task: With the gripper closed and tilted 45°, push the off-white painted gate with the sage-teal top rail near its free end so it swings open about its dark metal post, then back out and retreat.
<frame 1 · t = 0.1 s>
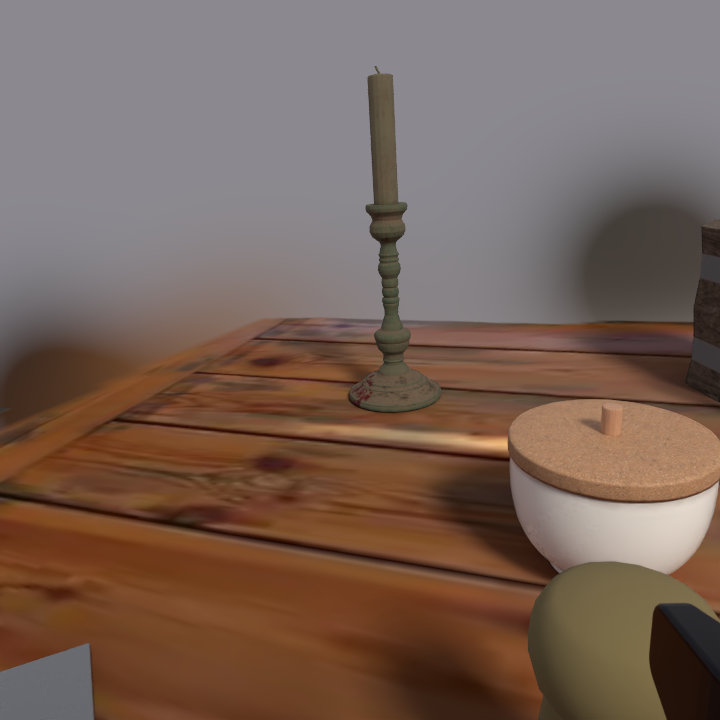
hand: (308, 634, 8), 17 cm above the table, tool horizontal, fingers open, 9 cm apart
candlestick holder: (395, 397, 62), on the table
lidded jar: (602, 561, 36), on the table
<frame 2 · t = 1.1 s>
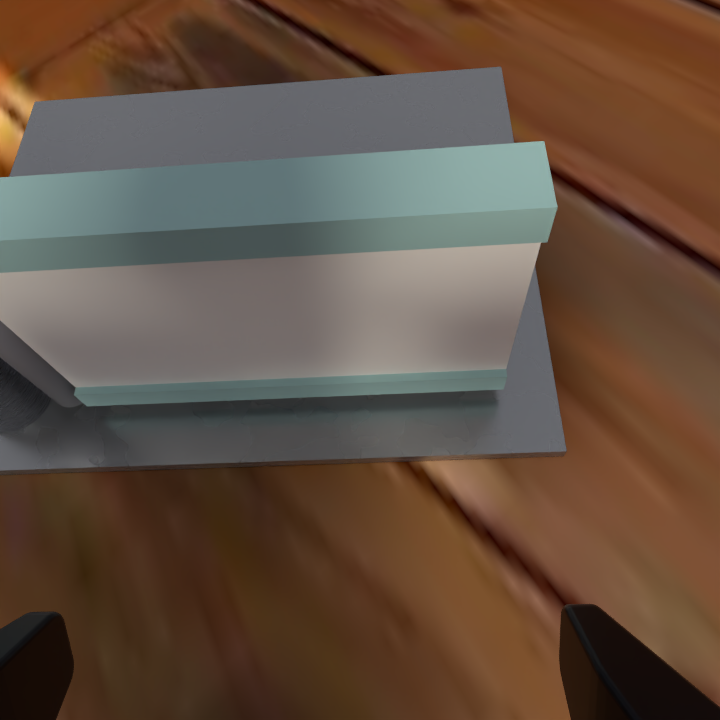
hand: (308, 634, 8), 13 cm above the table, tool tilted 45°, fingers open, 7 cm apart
gate post: (86, 398, 25), on the table
gate: (237, 307, 19), point 6 cm above the table, hinge at 0.0°
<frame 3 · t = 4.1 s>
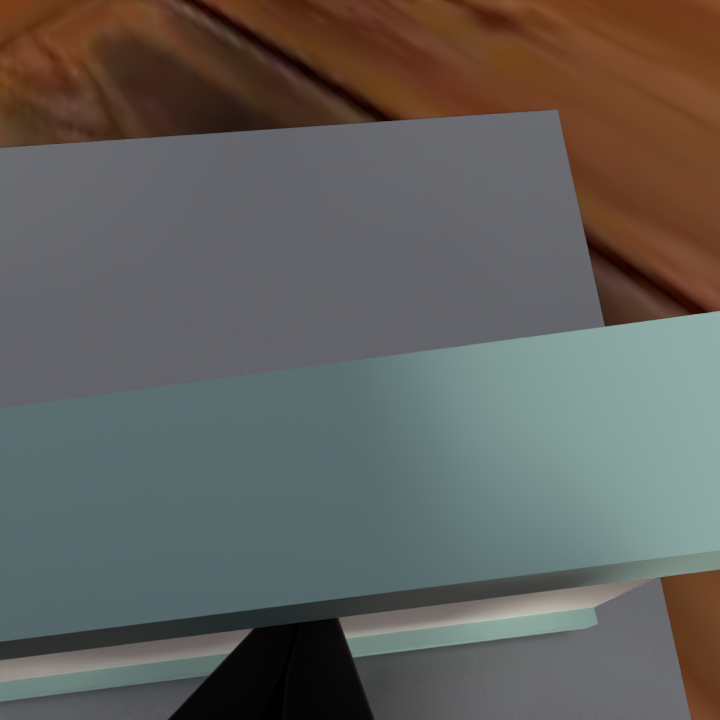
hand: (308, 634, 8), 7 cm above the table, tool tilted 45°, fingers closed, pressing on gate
gate: (91, 605, 10), point 6 cm above the table, hinge at 6.0°, touching gripper
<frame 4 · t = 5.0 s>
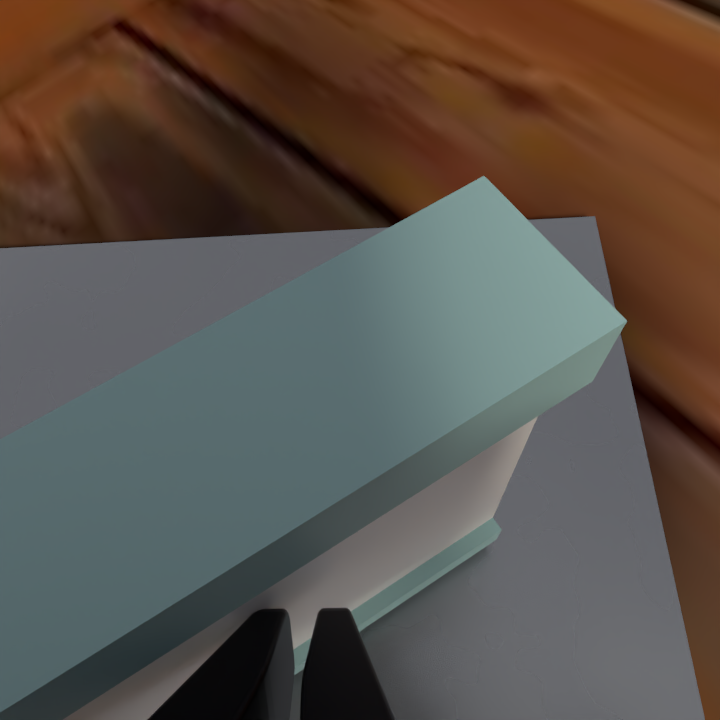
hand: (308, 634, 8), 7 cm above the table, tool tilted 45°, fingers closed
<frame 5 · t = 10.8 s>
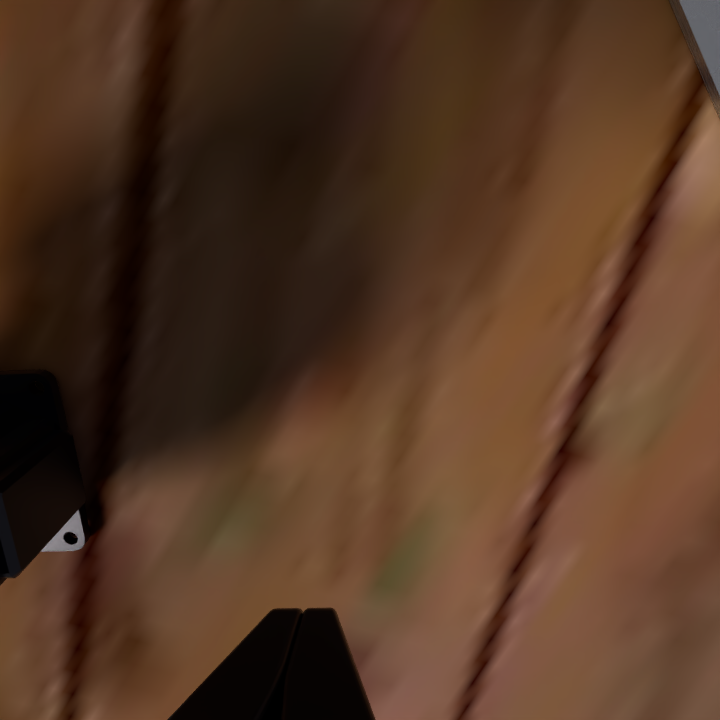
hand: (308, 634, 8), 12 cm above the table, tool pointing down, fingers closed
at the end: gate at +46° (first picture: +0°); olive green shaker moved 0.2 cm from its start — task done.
